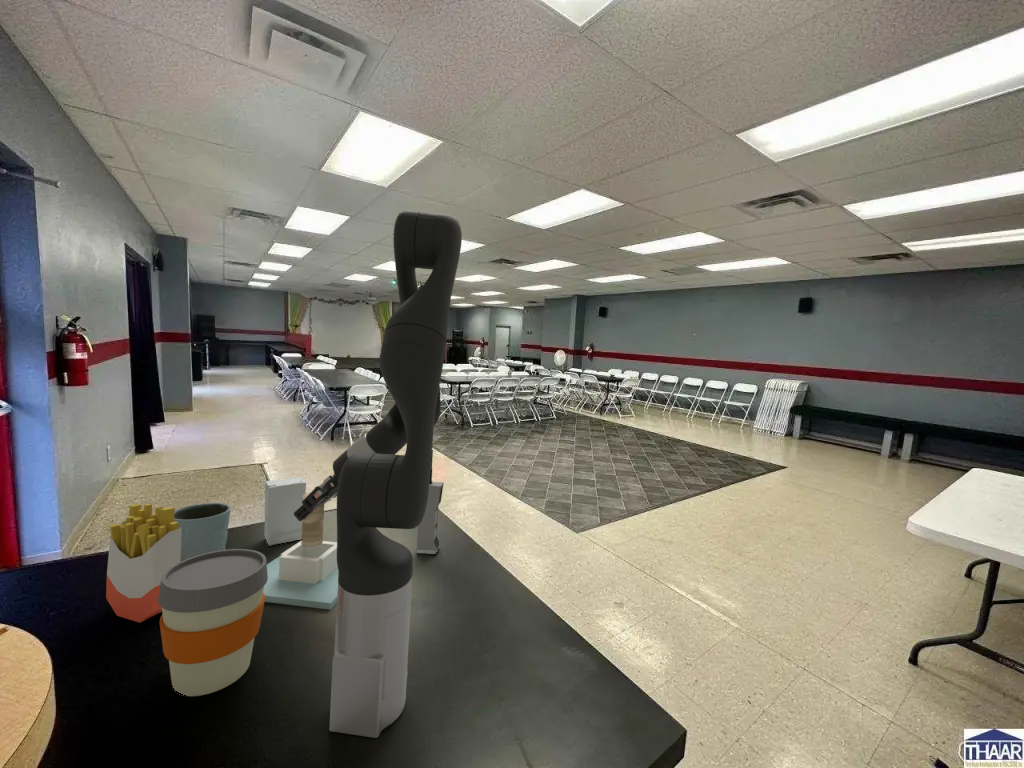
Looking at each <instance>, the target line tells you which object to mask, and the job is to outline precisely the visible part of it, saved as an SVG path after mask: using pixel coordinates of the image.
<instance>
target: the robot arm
mask: <svg viewBox="0 0 1024 768" xmlns="http://www.w3.org/2000/svg"><path fill="white" fill-rule="evenodd" d="M462 234H463V233H462V227H461V225H460V222H459V220H458V219H457V218H456V217H454V216H452V215H449V214H445V213H435V212H425V211H419V210H402V211H400V212H399V213H398V215H397V216H396V218H395V221H394V227H393V238H392V239H393V254H394V265H395V272H396V281H397V290H398V298H399V299H398V300H399V305H400V306H398V308H397V309H396V310H395V311H394V312H393V314H391V316H390V318H389V319H388V320H387V323H386V326H385V330H384V335H383V340H382V345H381V348H380V353H379V358H378V359H379V363H378V365H379V369H380V372H381V375H382V377H383V380H384V382H385V385H386V386H387V388H388V390H389V392H390V395H391V397H392V398H393V400H394V402H395V403H394V405H393V406H392V407H391V408H390V409H389V410H388V412H387V413H386V414H385V416H384V417H383V418H382V419H381V420H380V421H379V422H377V423H376V424H375V425H374V426H372V427H371V428H370V430H368V431H367V432H366V433H365V434H364V435H362V436H361V437H359V438H358V439H357V440H355V441H354V443H352V444H351V445H350V446H349V447H348V448H347V449H346V450H345V451H343V452H342V453H341V454H339V456H338V457H337V458H336V459H335V460H333V463H332V471H333V475H331V474H330V475H328V476H327V477H326V478H325V479H323V482H322V483H321V484H319V485H318V486H315V487H314V489H313V490H311V491H310V492H309V493H310V494H309V495H308V496H307V497H306V498H305V499H304V500H303V501H302V504H303V505H302V506H301V507H300V508H299V509H297V510H296V511H295V512H294V516H295V517H296V518H297V519H298V520H299V521H302V520H303V519H304V518H306V517H307V516H308V515H309V514H310V513H311V512H312V511H313V510H316V509H317V507H318V506H320V505H321V504H324V505H326V504H327V503H329V502H330V501H331V500H332V499H335V498H336V542H337V566H338V593H337V603H336V610H335V611H336V612H335V613H336V614H335V615H336V617H335V630H334V631H335V633H334V635H335V636H334V637H335V638H334V650H333V651H334V654H333V656H332V665H331V666H332V667H331V668H332V671H331V687H330V688H331V689H330V690H331V692H330V710H329V732H332V733H341V734H347V735H354V736H360V737H366V738H367V737H368V738H374V739H377V738H379V736H380V735H381V732H382V731H383V730H384V729H386V728H387V727H388V726H390V725H392V724H393V723H394V722H395V721H396V720H397V719H398V718H399V717H400V715H401V714H402V712H403V711H404V708H405V705H406V700H407V699H406V698H407V680H408V660H409V642H410V641H409V640H410V622H411V605H412V604H411V603H412V602H411V601H412V591H413V590H412V589H413V588H412V586H413V572H414V570H413V569H414V558H413V555H412V551H411V550H410V549H409V548H408V547H406V545H404V544H402V543H399V542H397V541H395V540H393V539H391V538H389V537H387V536H386V535H384V534H383V533H382V532H381V531H380V530H379V528H380V529H393V530H394V529H398V530H413V529H415V528H418V525H419V524H420V523H421V521H422V519H423V517H424V514H425V510H426V506H427V501H428V494H429V483H430V472H431V458H432V450H433V442H434V429H435V426H436V424H437V423H438V421H439V419H440V418H441V417H440V416H441V386H440V385H441V379H442V373H443V367H444V361H445V355H446V354H445V353H446V347H447V346H446V345H447V338H448V336H447V335H448V328H449V327H448V326H449V315H450V308H451V307H450V305H451V299H452V295H453V289H454V284H455V279H456V275H457V271H458V270H457V269H458V264H459V261H460V256H461V255H460V254H461V249H462V242H463V241H462V239H463V236H462ZM416 269H422V270H432V271H431V272H430V274H429V276H428V278H427V279H426V280H425V282H424V284H423V283H422V286H421V287H420V288H419V286H418V282H417V275H416V274H417V273H416ZM405 446H406V449H405V453H404V454H397V453H399V452H400V451H401V450H402V449H403V447H405ZM432 459H433V458H432Z"/></svg>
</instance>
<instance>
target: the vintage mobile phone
mask: <svg viewBox="0 0 1024 768" xmlns="http://www.w3.org/2000/svg"><path fill="white" fill-rule="evenodd" d="M433 454H434V450H433V449H432V458H431V472H430V483H429V494H428V501H427V506H426V510H425V514H424V517H423V519H422V521H421V523H420V524H419V525H418V526H417V536H416V537H417V538H416V539H417V540H416V551H417V550H434V551H437V549H438V546H439V543H440V541H439V538H438V523H439V520H438V519H439V505H441V502H442V497H443V496H442V495H443V490H444V482H443V481H433V456H434V455H433Z"/></svg>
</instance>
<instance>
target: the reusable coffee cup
mask: <svg viewBox="0 0 1024 768" xmlns="http://www.w3.org/2000/svg"><path fill="white" fill-rule="evenodd" d="M267 564H268V563H267V557H266V556H265V554H264V553H262V552H260V551H257V550H253V549H247V548H229V549H226V550H220V551H214V552H209V553H205V554H201V555H197V556H194V557H191V558H189V559H186V560H184V561H181V562H179V563H177V564H175V565H174V566H172V567H170V568H169V569H168V570H167V571H166V572H165V573H164V574H163V575H162V578H161V584H160V589H159V595H158V604H159V605H160V606H161V607H162V612H161V613H162V614H161V616H160V618H159V627H160V628H159V629H160V635H161V642H162V651H163V655H164V657H165V658H166V660H168V664H169V665H168V666H169V672H170V680H171V686H173V687H172V689H173V688H174V690H175V691H177V692H179V693H181V694H183V695H182V696H184V695H186V696H185V697H200V696H203V695H204V696H205V695H209V694H212V693H214V692H218V691H221V690H222V689H225V688H226V687H228V686H230V685H232V684H233V683H235V682H237V681H238V680H239V679H240V678H242V676H243V675H244V674H245V673H246V672H247V670H248V669H249V667H250V664H251V659H252V654H253V647H254V643H255V637H257V635H258V633H259V632H260V631H259V630H260V627H261V621H262V616H263V611H264V607H265V602H264V601H265V594H264V593H263V590H264V585H265V584H266V583H267V580H268V573H267ZM174 690H173V691H174ZM175 691H174V692H175Z"/></svg>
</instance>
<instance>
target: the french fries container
mask: <svg viewBox="0 0 1024 768" xmlns="http://www.w3.org/2000/svg"><path fill="white" fill-rule="evenodd" d="M128 509H129V514H128V515H129V516H126V518H125V521H122V522H121V523H120V524H118V523H115V524H111V525H110V526H109V531H110V536H109V546H108V547H109V548H108V559H107V569H106V587H105V588H106V591H105V592H106V593H105V599H106V601H107V602H108V603H109V606H111V609H112V610H113V612H114V614H115V615H116V616H118V617H119V618H120V617H121V618H123V619H127V620H130V621H134V622H136V623H139V624H140V623H143V622H144V621H146V620H149V619H150V618H151V619H152V617H155V616H157V615H158V614H160V613H162V607H161V606H160V605H159V604H158V595H159V589H160V584H161V578H162V575H163V574H164V573H165V572H166V571H167V570H168V569H169V568H170V567H172V566H174V565H175V564H177V563H179V562H180V558H181V532H182V528H180V527H179V522H174V511H175V510H176V509H175V507H170V506H168V507H165V508H164V506H158V507H155V508H154V511H155V513H154V514H153V504H152V503H148V504H144V505H143V509H142V504H138V503H137V504H132V505H129V507H128Z"/></svg>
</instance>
